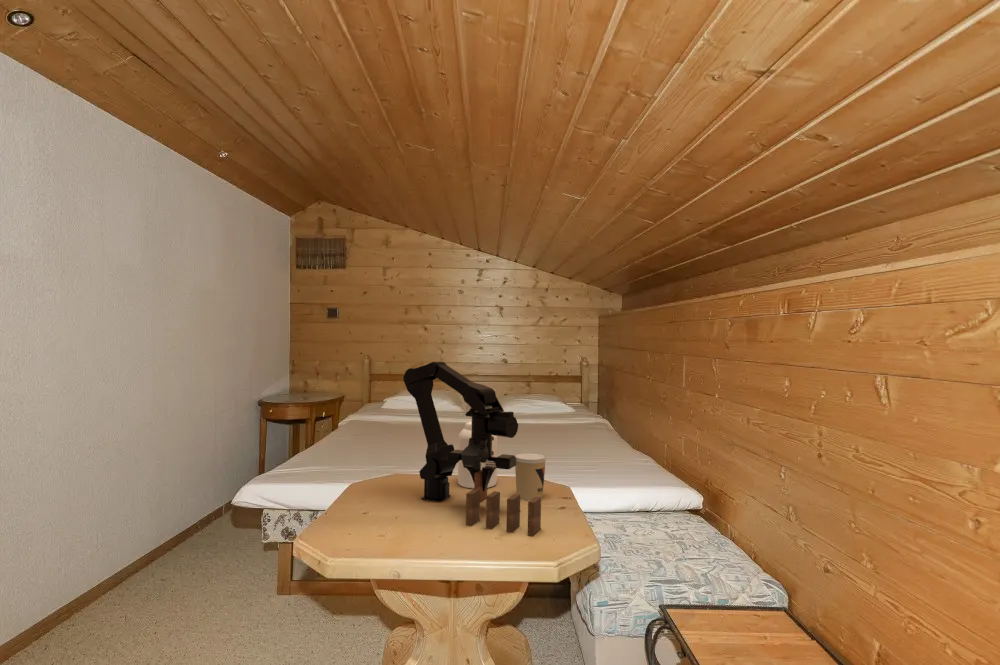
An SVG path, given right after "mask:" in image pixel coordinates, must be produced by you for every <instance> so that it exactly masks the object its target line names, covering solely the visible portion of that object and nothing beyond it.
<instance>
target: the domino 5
mask: <svg viewBox="0 0 1000 665" xmlns="http://www.w3.org/2000/svg"><path fill="white" fill-rule="evenodd" d="M541 517H542V498H541V497H534V498H532V499H531V500H527V536H529V537H530V536H531V537H535V536H536V535H537V534H538V533H539V532H540V531H541V527H542V524H541V523H542V522H541V520H542V518H541Z"/></svg>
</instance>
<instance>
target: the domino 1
mask: <svg viewBox="0 0 1000 665" xmlns="http://www.w3.org/2000/svg"><path fill="white" fill-rule="evenodd" d="M465 496H466V497H465V526H468V527H472V526H474V525H475V524H477V523H478V522H480V521H481V503H480V489H472V490H470V491H468V492H466V494H465Z"/></svg>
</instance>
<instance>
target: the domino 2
mask: <svg viewBox="0 0 1000 665" xmlns="http://www.w3.org/2000/svg"><path fill="white" fill-rule="evenodd" d="M474 489H480V504H481V503H483V502H484V501H486V496H487V495H488V488H486V490H485V491H483V470H482V469H481V470H479V471H478V472H476V473H475V484H474Z"/></svg>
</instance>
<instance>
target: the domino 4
mask: <svg viewBox="0 0 1000 665" xmlns="http://www.w3.org/2000/svg"><path fill="white" fill-rule="evenodd" d="M520 523H521V499H520V494H517V493H513V494H512V495H510V496H509V497H508V498H507V499H506V530H505V531H506V533H512V534H513V533H514V532H515V531H517V529H519V528H520V526H521V525H520Z"/></svg>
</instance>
